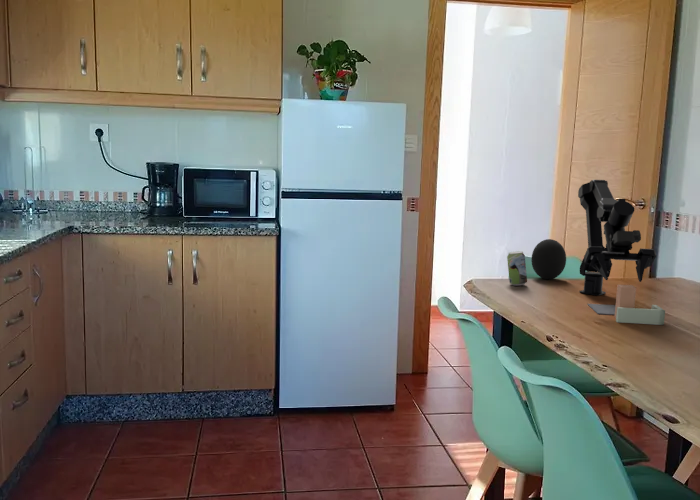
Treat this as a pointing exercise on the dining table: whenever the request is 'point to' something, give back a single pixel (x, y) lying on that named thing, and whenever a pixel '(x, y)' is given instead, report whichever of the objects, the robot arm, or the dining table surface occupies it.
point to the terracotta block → (625, 297)
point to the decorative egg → (548, 259)
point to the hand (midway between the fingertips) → (623, 280)
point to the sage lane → (641, 315)
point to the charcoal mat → (603, 309)
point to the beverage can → (517, 268)
